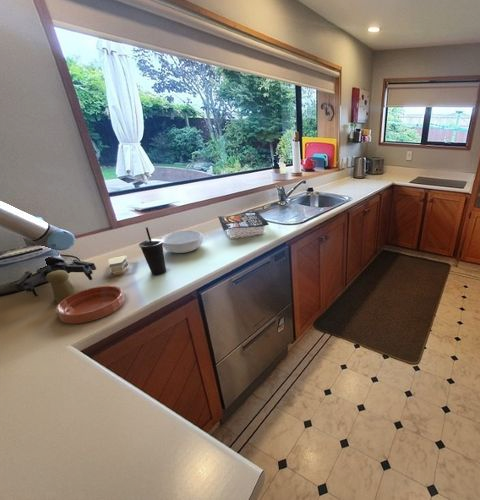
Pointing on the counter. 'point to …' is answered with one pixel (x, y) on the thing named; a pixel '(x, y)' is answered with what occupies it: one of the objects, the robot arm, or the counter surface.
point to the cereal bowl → (182, 241)
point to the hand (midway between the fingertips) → (63, 284)
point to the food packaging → (243, 224)
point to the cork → (60, 285)
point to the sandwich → (118, 264)
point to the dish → (90, 304)
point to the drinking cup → (154, 254)
